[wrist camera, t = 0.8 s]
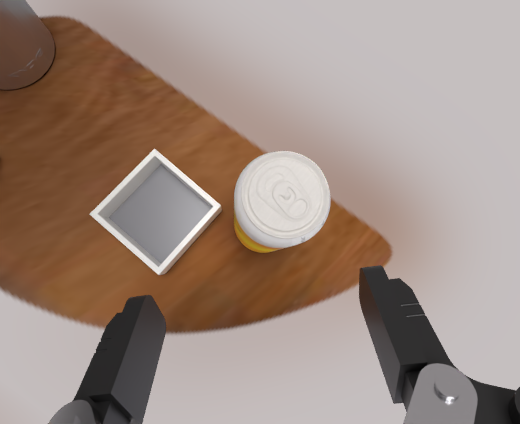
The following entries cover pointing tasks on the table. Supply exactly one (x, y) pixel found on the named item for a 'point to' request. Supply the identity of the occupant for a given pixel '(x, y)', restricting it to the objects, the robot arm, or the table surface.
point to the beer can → (280, 201)
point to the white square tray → (157, 212)
